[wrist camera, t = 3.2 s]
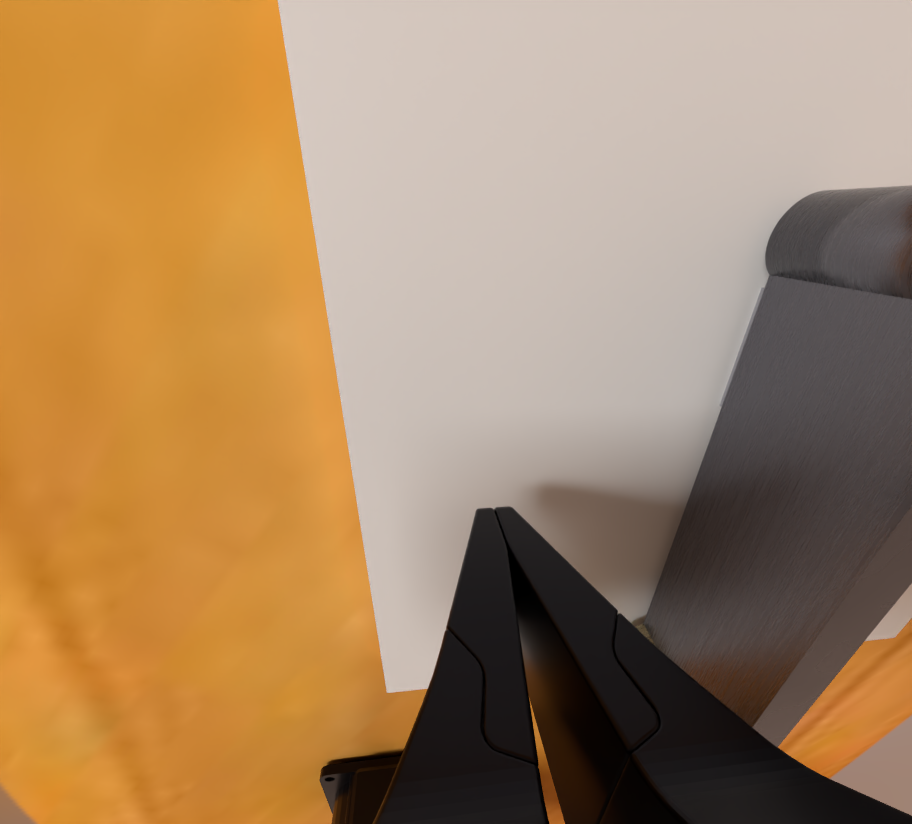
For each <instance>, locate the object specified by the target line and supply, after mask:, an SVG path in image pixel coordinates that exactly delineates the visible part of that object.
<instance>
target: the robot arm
mask: <svg viewBox="0 0 912 824" xmlns="http://www.w3.org/2000/svg"><path fill="white" fill-rule="evenodd" d="M529 698H530V701H531V705H532V708H533V712H534V716H535V719H536V723H537V726H538V730H539V733H540V737H541V740H542V744H543V747H544V751H545V754H546V758H547V761H548V765H549V768H550V772H551V775H552V779H553V782H554V786H555V789H556V793H557V796H558V800H559V803H560V807H561V810H562V814H563V817H564V821H565V824H912V816H911V815H909V814H907V813H904V812H902V811H900V810H897V809H895V808H893V807H891V806H889V805H886V804H884V803H882V802H880V801H877V800H875V799H873V798H871V797H869V796H866V795H864V794H862V793H859V792H857V791H855V790H853V789H851V788H848V787H846V786H844V785H842V784H840V783H837V782H835V781H833V780H831V779H829V778H826V777H824V776H822V775H820V774H819V773H817V772H815V771H813V770H811V769H810V768H808V767H806V766H804V765H803V764H801V763H800V762H798V761H797V760H795V759H793V758H792V757H790V756H789V755H787V754H786V753H785V752H783V751H782V750H780V749H779V748H778V747H776V746H775V745H774V744H772V743H771V742H770V741H768V740H767V739H766V738H765V737H763V736H762V735H761V734H760V733H758V732H757V731H756V730H755V729H754V728H752V727H751V726H750V725H749V724H748V723H746V722H745V721H744V720H743V719H742V718H740V717H739V716H738V715H737V714H735V713H734V712H733V711H732V710H731V709H729V708H728V707H727V706H726V705H725V704H723V703H722V702H721V701H720V700H719V699H717V698H716V697H715V696H714V695H712V694H711V693H710V692H709V691H708V690H706V689H705V688H704V687H703V686H702V685H700V684H699V683H698V682H697V681H696V680H694V679H693V678H692V677H691V676H690V675H688V674H687V673H686V672H685V671H684V670H682V669H681V668H680V667H679V666H678V665H677V664H676V663H674V662H673V661H672V660H671V659H670V658H669V657H667V656H666V655H665V654H664V653H663V652H662V651H660V650H659V649H658V648H657V647H656V646H655V645H654V644H653V643H652V642H651V641H650V640H649V639H647V638H646V637H645V636H644V635H643V634H642V633H641V632H640V631H639V630H638V629H637V628H636V627H635V626H634V625H633V624H632V623H631V622H629V621H628V620H627V619H626V618H625V617H624V616H623V615H622V614H621V613H618V610H617V609H616V608H615V607H614V606H613V605H612V604H611V603H610V602H609V601H608V600H607V599H606V598H605V597H604V596H603V595H602V594H601V593H600V592H599V591H597V590H596V589H595V588H594V587H593V586H592V585H591V584H590V583H589V582H588V581H587V580H586V579H585V578H584V577H583V576H582V575H581V574H580V573H579V572H578V571H577V570H576V569H575V568H574V567H573V566H572V565H571V564H570V563H569V562H568V561H567V560H566V559H565V558H564V557H563V556H562V555H561V554H560V553H559V552H558V551H556V550H555V549H554V548H553V547H552V546H551V545H550V544H549V543H548V542H547V541H546V540H545V539H544V538H543V537H542V536H541V535H540V534H539V533H538V532H537V531H536V530H535V529H534V528H533V527H532V526H531V525H530V524H529V523H528V522H527V521H526V520H525V519H524V518H523V517H522V516H521V515H520V514H519V513H518V512H517V511H515V510H514V509H513V508H512V507H510V506H505V507H496V508H495V509H493V508H478V509H477V510H476V512H475V516H474V520H473V524H472V528H471V532H470V536H469V540H468V544H467V547H466V551H465V555H464V559H463V563H462V567H461V571H460V575H459V579H458V583H457V587H456V590H455V594H454V598H453V602H452V606H451V610H450V614H449V618H448V622H447V626H446V630H445V632H444V636H443V640H442V644H441V648H440V652H439V655H438V658H437V662H436V665H435V669H434V672H433V675H432V678H431V681H430V684H429V686H428V689H427V692H426V695H425V697H424V700H423V703H422V706H421V708H420V711H419V713H418V716H417V718H416V721H415V723H414V726H413V728H412V731H411V733H410V736H409V738H408V741H407V743H406V746H405V748H404V751H403V753H402V756H398V757H390V758H382V759H374V760H366V761H358V762H349V763H341V764H333V765H327V766H324V767H323V768H322V769H321V775H320V783H321V785H322V788H323V790H324V793H325V796H326V798H327V801H328V803H329V806H330V809H331V811H332V814H333V817H332V824H549V821H548V817H547V812H546V807H545V802H544V797H543V791H542V785H541V778H540V772H539V768H538V757H537V750H536V743H535V736H534V729H533V722H532V715H531V708H530V701H529Z"/></svg>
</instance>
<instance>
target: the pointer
mask: <svg viewBox="0 0 912 824" xmlns="http://www.w3.org/2000/svg"><path fill="white" fill-rule="evenodd" d="M765 264H766V268H767V271H768V274H769V278H768V280H767V283H766V286H765V289H764V291H763V294H762V297H761V300H760V303H759V305H758V308H757V311H756V314H755V316H754V319H753V322H752V325H751V327H750V330H749V333H748V336H747V339H746V341H745V344H744V347H743V350H742V352H741V355H740V358H739V361H738V363H737V366H736V369H735V372H734V374H733V377H732V380H731V383H730V386H729V388H728V391H727V394H726V397H725V399H724V402H723V405H722V408H721V410H720V413H719V416H718V419H717V421H716V424H715V427H714V430H713V433H712V435H711V438H710V441H709V444H708V446H707V449H706V452H705V455H704V457H703V460H702V463H701V466H700V468H699V471H698V474H697V477H696V480H695V482H694V485H693V488H692V491H691V493H690V496H689V499H688V502H687V504H686V507H685V510H684V513H683V515H682V518H681V521H680V524H679V527H678V529H677V532H676V535H675V538H674V540H673V543H672V546H671V549H670V551H669V554H668V557H667V560H666V562H665V565H664V568H663V571H662V574H661V576H660V579H659V582H658V585H657V587H656V590H655V593H654V596H653V598H652V601H651V604H650V607H649V610H648V612H647V615H646V618H645V621H644V623H643V624H641V625H638V626H636V628H637V629H638V630H639V631H640V632H641V633H642V634H643V635H644V636H645V637H646V638H647V639H649V640H650V641H651V642H652V643H653V644H654V645H655V646H656V647H657V648H658V649H659V650H660V651H662V652H663V653H664V654H665V655H666V656H667V657H669V658H670V659H671V660H672V661H673V662H674V663H676V664H677V665H678V666H679V667H680V668H681V669H682V670H684V671H685V672H686V673H687V674H688V675H690V676H691V677H692V678H693V679H694V680H696V681H697V682H698V683H699V684H700V685H702V686H703V687H704V688H705V689H706V690H708V691H709V692H710V693H711V694H712V695H714V696H715V697H716V698H717V699H719V700H720V701H721V702H722V703H723V704H725V705H726V706H727V707H728V708H729V709H731V710H732V711H733V712H734V713H735V714H737V715H738V716H739V717H740V718H742V719H743V720H744V721H745V722H746V723H748V724H749V725H750V726H751V727H752V728H754V729H755V730H756V731H757V732H758V733H760V734H761V735H762V736H763V737H765V738H766V739H767V740H768V741H770V742H771V743H772V744H774V745H775V746H776V747H778V746H779V745H780V744H781V742H782V741H783V740H784V739H785V738H786V736H787V735H788V734H789V733H790V731H791V730H792V729H793V728H794V727H795V725H796V724H797V723H798V722H799V720H800V719H801V718H802V717H803V716H804V714H805V713H806V712H807V711H808V709H809V708H810V707H811V706H812V705H813V703H814V702H815V701H816V700H817V698H818V697H819V696H820V695H821V694H822V692H823V691H824V690H825V689H826V687H827V686H828V685H829V684H830V683H831V681H832V680H833V679H834V678H835V676H836V675H837V674H838V673H839V672H840V670H841V669H842V668H843V667H844V665H845V664H846V663H847V662H848V661H849V659H850V658H851V657H852V656H853V654H854V653H855V652H856V651H857V650H858V648H859V647H860V646H861V645H862V643H863V642H864V641H865V640H866V639H867V637H868V636H869V635H870V634H871V632H872V631H873V630H874V629H875V628H876V626H877V625H878V624H879V623H880V621H881V620H882V619H883V618H884V617H885V615H886V614H887V613H888V612H889V610H890V609H891V608H892V607H893V606H894V604H895V603H896V602H897V601H898V600H899V598H900V597H901V596H902V595H903V593H904V592H905V591H906V590H907V589H908V587H909V586H910V585H911V584H912V185H909V186H892V187H874V188H856V189H839V190H823V191H818V192H815V193H812V194H810V195H808V196H806V197H804V198H802V199H801V200H799V201H798V202H797V203H795V204H794V205H793V206H792V207H791V208H790V209H789V210H788V211H787V212H786V213H785V214H784V215H783V216H782V217H781V219H780V220H779V221H778V223H777V224H776V226H775V228H774V229H773V231H772V233H771V235H770V238H769V240H768V244H767V247H766V253H765Z"/></svg>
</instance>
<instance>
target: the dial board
mask: <svg viewBox="0 0 912 824" xmlns="http://www.w3.org/2000/svg"><path fill="white" fill-rule="evenodd" d="M278 5H279V11H280V17H281V24H282V30H283V36H284V43H285V49H286V55H287V62H288V68H289V74H290V81H291V87H292V93H293V100H294V106H295V112H296V119H297V125H298V132H299V138H300V144H301V151H302V157H303V163H304V170H305V176H306V182H307V189H308V195H309V201H310V208H311V214H312V220H313V227H314V233H315V239H316V246H317V252H318V258H319V265H320V271H321V277H322V284H323V290H324V296H325V303H326V309H327V316H328V322H329V328H330V335H331V341H332V347H333V354H334V360H335V366H336V373H337V379H338V385H339V392H340V398H341V404H342V411H343V417H344V423H345V430H346V436H347V442H348V449H349V455H350V461H351V468H352V474H353V480H354V487H355V493H356V500H357V506H358V512H359V519H360V525H361V531H362V538H363V544H364V550H365V557H366V563H367V569H368V576H369V582H370V588H371V595H372V601H373V607H374V614H375V620H376V626H377V633H378V639H379V645H380V652H381V658H382V664H383V671H384V677H385V683H386V690H387V693H391V692H400V691H410V690H419V689H428V686H429V684H430V681H431V678H432V675H433V672H434V669H435V665H436V662H437V658H438V655H439V652H440V648H441V644H442V640H443V636H444V632H445V630H446V626H447V622H448V618H449V614H450V610H451V606H452V602H453V598H454V594H455V590H456V587H457V583H458V579H459V575H460V571H461V567H462V563H463V559H464V555H465V551H466V547H467V544H468V540H469V536H470V532H471V528H472V524H473V520H474V516H475V512H476V510H477V509H478V508H493V509H495V508H496V507H505V506H510V507H512V508H513V509H514V510H515V511H517V512H518V513H519V514H520V515H521V516H522V517H523V518H524V519H525V520H526V521H527V522H528V523H529V524H530V525H531V526H532V527H533V528H534V529H535V530H536V531H537V532H538V533H539V534H540V535H541V536H542V537H543V538H544V539H545V540H546V541H547V542H548V543H549V544H550V545H551V546H552V547H553V548H554V549H555V550H556V551H558V552H559V553H560V554H561V555H562V556H563V557H564V558H565V559H566V560H567V561H568V562H569V563H570V564H571V565H572V566H573V567H574V568H575V569H576V570H577V571H578V572H579V573H580V574H581V575H582V576H583V577H584V578H585V579H586V580H587V581H588V582H589V583H590V584H591V585H592V586H593V587H594V588H595V589H596V590H597V591H599V592H600V593H601V594H602V595H603V596H604V597H605V598H606V599H607V600H608V601H609V602H610V603H611V604H612V605H613V606H614V607H615V608H616V609H617V610H618V613H621V614H622V615H623V616H624V617H625V618H626V619H627V620H628V621H629V622H631V623H632V624H633V625H634V626H635V627H636V626H638V625H641V624H643V623H644V621H645V618H646V615H647V612H648V610H649V607H650V604H651V601H652V598H653V596H654V593H655V590H656V587H657V585H658V582H659V579H660V576H661V574H662V571H663V568H664V565H665V562H666V560H667V557H668V554H669V551H670V549H671V546H672V543H673V540H674V538H675V535H676V532H677V529H678V527H679V524H680V521H681V518H682V515H683V513H684V510H685V507H686V504H687V502H688V499H689V496H690V493H691V491H692V488H693V485H694V482H695V480H696V477H697V474H698V471H699V468H700V466H701V463H702V460H703V457H704V455H705V452H706V449H707V446H708V444H709V441H710V438H711V435H712V433H713V430H714V427H715V424H716V421H717V419H718V416H719V413H720V410H721V408H722V405H723V402H724V399H725V397H726V394H727V391H728V388H729V386H730V383H731V380H732V377H733V374H734V372H735V369H736V366H737V363H738V361H739V358H740V355H741V352H742V350H743V347H744V344H745V341H746V339H747V336H748V333H749V330H750V327H751V325H752V322H753V319H754V316H755V314H756V311H757V308H758V305H759V303H760V300H761V297H762V294H763V291H764V289H765V286H766V283H767V280H768V278H769V274H768V271H767V268H766V264H765V253H766V247H767V244H768V240H769V238H770V235H771V233H772V231H773V229H774V228H775V226H776V224H777V223H778V221H779V220H780V219H781V217H782V216H783V215H784V214H785V213H786V212H787V211H788V210H789V209H790V208H791V207H792V206H793V205H794V204H795V203H797V202H798V201H799V200H801V199H802V198H804V197H806V196H808V195H810V194H812V193H815V192H818V191H823V190H839V189H856V188H874V187H892V186H909V185H912V0H278ZM911 618H912V584H911V585H910V586H909V587H908V589H907V590H906V591H905V592H904V593H903V595H902V596H901V597H900V598H899V600H898V601H897V602H896V603H895V604H894V606H893V607H892V608H891V609H890V610H889V612H888V613H887V614H886V615H885V617H884V618H883V619H882V620H881V621H880V623H879V624H878V625H877V626H876V628H875V629H874V630H873V631H872V632H871V634H870V635H869V636H868V637H867V639H866V640H865V641H869V640H878V639H888V638H895V637H896V635H897V634H898V633H899V632H900V631H901V630H902V629H903V627H904V626H905V625H906V624H907V623H908V622H909V621H910V619H911Z"/></svg>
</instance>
